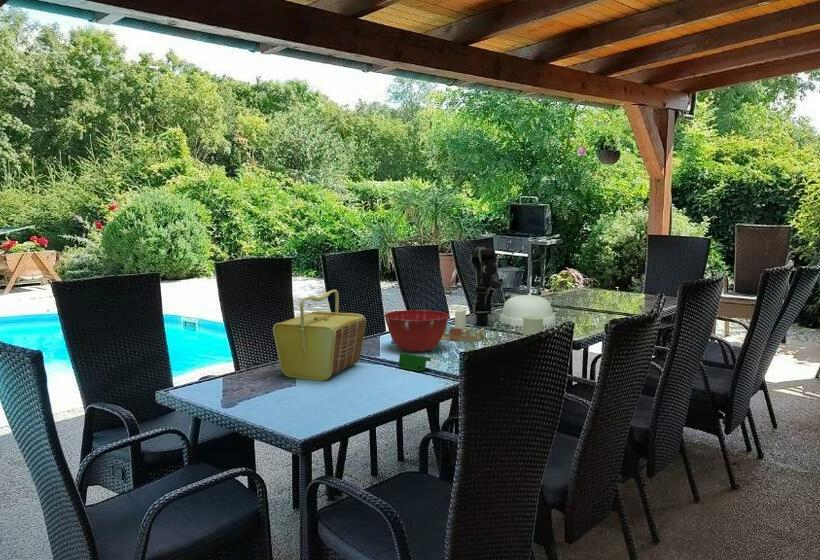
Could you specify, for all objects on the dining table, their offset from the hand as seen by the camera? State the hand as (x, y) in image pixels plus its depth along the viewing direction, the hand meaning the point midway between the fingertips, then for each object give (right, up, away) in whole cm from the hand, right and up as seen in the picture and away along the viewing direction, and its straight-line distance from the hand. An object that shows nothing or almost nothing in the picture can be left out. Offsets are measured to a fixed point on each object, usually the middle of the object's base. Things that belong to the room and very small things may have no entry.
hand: (486, 304), depth 314 cm
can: (+18, -16, -26) cm, 35 cm away
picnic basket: (-72, -23, -74) cm, 105 cm away
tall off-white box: (-15, -15, -17) cm, 27 cm away
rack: (-15, -15, -17) cm, 27 cm away
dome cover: (+25, -10, +26) cm, 38 cm away
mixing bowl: (-35, -18, -38) cm, 55 cm away
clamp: (-36, -22, -71) cm, 83 cm away
